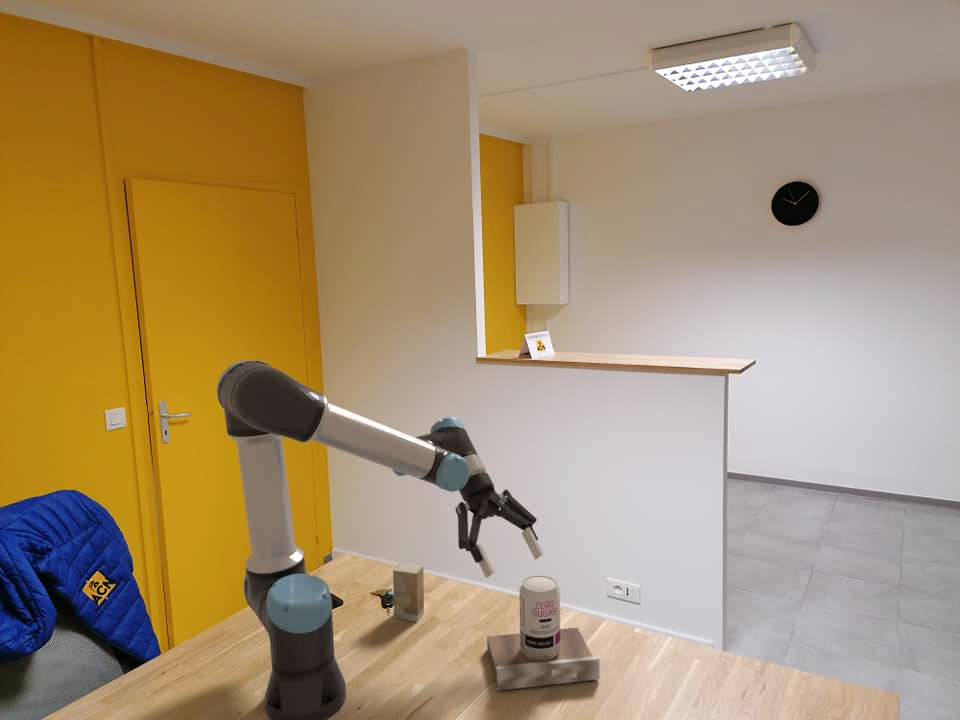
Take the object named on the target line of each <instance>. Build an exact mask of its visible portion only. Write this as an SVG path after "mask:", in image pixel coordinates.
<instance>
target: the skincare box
mask: <svg viewBox="0 0 960 720" xmlns="http://www.w3.org/2000/svg"><path fill="white" fill-rule="evenodd" d="M424 570H425V569H424V565H420V564H413V563H405V562H398V564H397V565H396V566H395V567H394V569H393V571H392V581H393V584H392V585H393V586H392V588H393V593H392V594H393V619H397V620H398V619H399V620H403V621H404V620H405V621H410V622H419V621H420V620H421V618H422V617H423V615H424V614H425V598H424V597H425V595H424V594H425V588H424V586H425V583H424V582H425V581H424V578H425V577H424V576H425V575H424V573H425V572H424Z"/></svg>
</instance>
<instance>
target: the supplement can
mask: <svg viewBox="0 0 960 720" xmlns="http://www.w3.org/2000/svg"><path fill="white" fill-rule="evenodd" d="M521 583H522V584H521V586H520V588H519V590H518V591H519V592H518V593H519V633H520V649H521V652H522V653H523V654H524V655H525V656H526V657H527V658H529V659H531V660H534V661H548V660H551V659H553V658H554V657H555V656H556V655H558V654H559V652H560V629H561V591H560V587H559V586H558V584H557V581H556V579H555V578H552V577H550V576H546V575H539V574H537V575H532V576H527V577H526V578H524V579H523V581H522V582H521Z"/></svg>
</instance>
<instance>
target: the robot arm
mask: <svg viewBox="0 0 960 720" xmlns="http://www.w3.org/2000/svg"><path fill="white" fill-rule="evenodd" d="M216 386H217V387H216V395H217V400H218V403H219V404H220V406H221V408H222V409H223V410H224V411H223V412H224V418H225V426H226V433H227V436H228V437H230V438H231V439H232V440H234V441H236V447H237V454H238V461H239V468H240V476H241V483H242V490H243V497H244V498H243V499H244V505H245V512H246V514H245V515H246V520H247V529H248V537H249V543H250V553H251V554H249V556H248V557H247V558H246V559H245V561H244V562H245V563H244V566H245V575H244V579H243V593H244V598H245V601H246V603H247V605H248V606H249V607H250V609H251V610H252V611H253V612H254V614H255V615H256V616H257V618H258V620H259V622H260V623H261V625H262V626H263V628H264V629H265V631H266V632H267V634H268V638H269V647H270V659H271V660H270V661H271V672H270V675H269V679H268V683H267V687H266V691H265V694H264V705H265V713H266V715H267V717H268V719H270V720H326V719H328V718H330V717H331V716H333V715H334V714H335V713H337V712H338V711H339V710H340V709H341V708H342V706H344V704H345V701H346V698H347V690H346V689H347V687H346V681H345V678H344V676H343V674H342V671H341V669H340V667H339V664H338V662H337V659H336V657H335V641H334V640H335V639H334V627H333V626H334V623H333V601H332V595H331V589H330V587H329V586H328V584H327V583H326V581H325V580H323V579H322V578H321V577H319V576H316V575H312V576H311V575H310V574H307V569H306V568H307V566H306V560H305V559H306V558H305V553H304V550H303V549H302V548H301V547H299V546H297V545H296V542H295V531H294V523H293V516H292V507H291V499H290V490H289V483H288V482H289V481H288V474H287V465H286V457H285V450H284V449H285V448H284V440H283V437H284V438H288V439H291V440H294V441H297V442H300V443H309V442H310V441H313V442H316V443H320V444H321V445H325V446H328V447H331V448H333V449H336V450H338V451H342V452H344V453H347V454H349V455H353V456H355V457H358V458H361V459H364V460H366V461H369V462H372V463H373V464H374V463H375V464H377V465H381V466H383V467H386V468H388V469H391V471H393V473H394V474H395V475H396V476H398V477H402V476H411V477H413V478H416V479H418V480H421V481H424V482H426V483H429V484H432V485H435V486H437V487H438V488H440V490H445V491H447V492H450V493H451V492H453V493H455V492H459V493H460V494H459V495H460V496H461V497H462V499H463V501H464V502H463V501H461V502H459V503H458V505H456V506H455V512H456V515H457V527H458V528H457V531H458V533H457V536H458V537H457V538H458V541H457V542H458V543H457V545H458V548H459V549H460V550H464V549H465V550H466V552H470V554H471V557H472V558H473V560H474V562H475V563H476V564H479V566H480V569H481V570H482V572H483V576H484V577H485V579H487V578H490V576H492V575H493V573H495V570H494V568H493V565H492V564H491V561H490V559H489V557H488V555H487V552H486V551H485V549H484V547H483V545H482V543H477V542H478V539H479V534H480V528H481V526H482V525H481V524H482V520H486V519H488V518H492V517H495V516H496V517H500V518H502V519H504V520H505V521H507V522H509V523H510V524H512V525H514V526H516V527H517V528H519V529H520V530H522V532H521V535H522V537H523V539H524V541H525V544H526V545H527V547H528V548H529V550H530V553H531V554H532V556H533V558H534V560H538V559H539V558H540V557H542V556H543V555H544V551H543V549H542V548H541V545H540V543H539V542H538V541H539V538H538V536H537V533H536V532H535V530H534V528H533V525H534V524H535V523H536V522H537V521H538V520H537V517H536V516H534V514H532V513H531V512H530V511H529V510H527V508H525V507H524V506H523V505H522V504H521V503H520V502H518V501H517V499H515V498H514V497H513V495H512V494H511V492H510V490H508V489H504V490H503V491H502V492H500V493H498V492H496V490H495V486H494V483H493V481H492V479H491V476H490V474H489V473H487V469H486V467H485V465H484V463H483V462H482V459H481V458H480V456H479V455H478V453H477V450H476V449H475V446H474V444H473V442H472V440H471V439H470V437H469V433H468V431H467V429H466V428H465V427H464V425H463V423H462V422H461V420H460V419H459V418H457V417H455V416H447V417H444V418H443V419H441V420H438V421H436V422H435V423H434V424H433V425H431V428H430V433H426V434H423V435H420V436H418V435H417V436H412V435H410V434H408V433H405V432H403V431H400V430H397V429H395V428H392V427H390V426H387V425H385V424H382V423H380V422H378V421H376V420H373V419H370V418H368V417H366V416H363V415H361V414H358V413H356V412H353V411H350V410H348V409H345V408H343V407H341V406H338V405H336V404H333V403H331V402H328V401H327V400H328V399H327V398H326V395H325V394H323V393H321V392H319V391H316V390H314V389H312V388H309V387H307V386H306V385H304V384H303V383H301V382H299V380H296V379H295V378H293V377H291V376H290V375H289V374H287V373H285V372H284V371H282V370H280V369H277V368H275V367H273V366H271V365H270V364H268V363H267V362H264V361H260V360H253V359H252V360H250V359H249V360H247V359H246V360H241V361H238V362H235V363H234V364H231V365H229V367H227V368H226V369H225V370H224V371H223V372H222V374H221V376H220V377H219V379H218V381H217V385H216ZM468 512H471V513H472V518H471V526H470V530H469V517H468Z"/></svg>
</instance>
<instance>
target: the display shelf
mask: <svg viewBox="0 0 960 720" xmlns="http://www.w3.org/2000/svg"><path fill="white" fill-rule="evenodd" d="M486 645H487V646H486V647H487V650H486V651H487V653H488V657H489V661H490V664H491V668H492V672H493V675H494V678H495V683H496V689H497V691H505V690H506V691H507V690H514V689H523V688H531V687H542V686H550V685H558V684H559V685H561V684H567V683H568V684H569V683H578V682H587V681H594V680H600V656H598V655H595V656H594V655H592V652H591V651H590V649H589V647H588V645H587V643H586V641H585V639H584V637H583V636H582V632H581V631H580V630H579V628H578V627H569V628H560V652H559V654H558V655H556V656H555V657H554V658H553V659H551V660H548V661H534V660H531V659H529V658H527V657H526V656H525V655H524V654H523V653H522V652H521V649H520V632H518V633H510V634H500V635H490V636H489V635H488V636H486Z"/></svg>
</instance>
